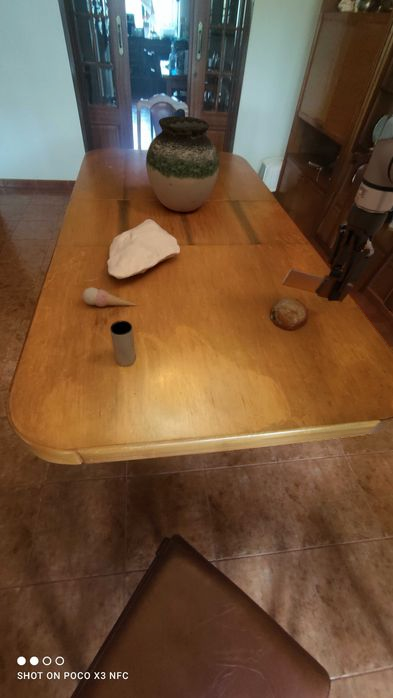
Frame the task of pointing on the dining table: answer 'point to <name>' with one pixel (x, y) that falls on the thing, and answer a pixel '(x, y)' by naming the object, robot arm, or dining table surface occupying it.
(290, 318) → the bread roll
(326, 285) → the knife
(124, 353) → the grey cylinder
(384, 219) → the robot arm
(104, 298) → the ice cream cone
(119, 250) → the white rock slab
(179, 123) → the vase
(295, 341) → the dining table surface
